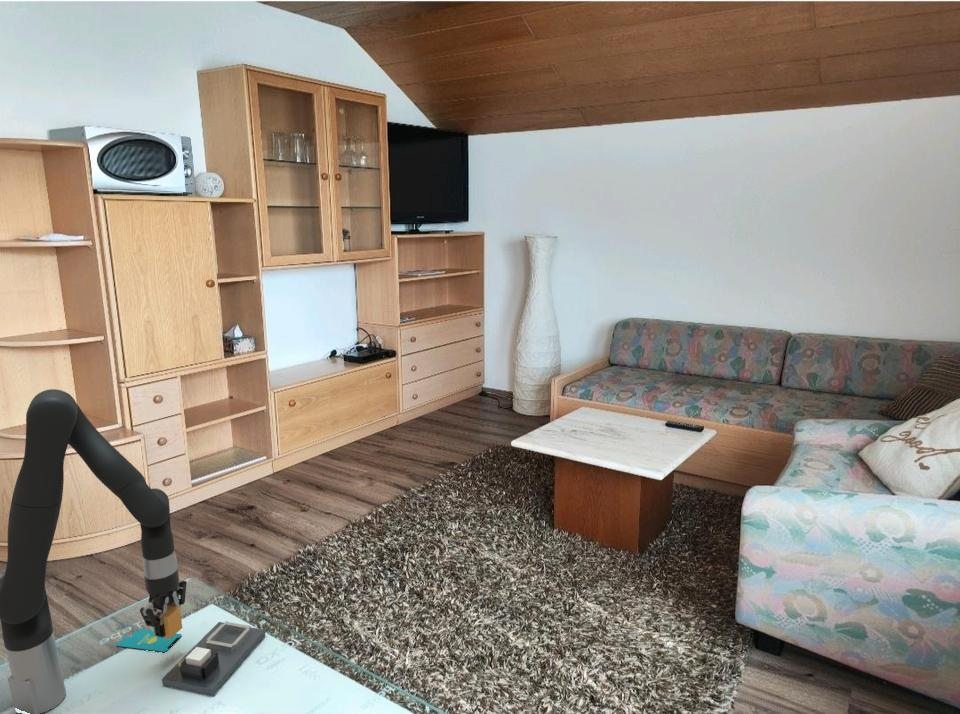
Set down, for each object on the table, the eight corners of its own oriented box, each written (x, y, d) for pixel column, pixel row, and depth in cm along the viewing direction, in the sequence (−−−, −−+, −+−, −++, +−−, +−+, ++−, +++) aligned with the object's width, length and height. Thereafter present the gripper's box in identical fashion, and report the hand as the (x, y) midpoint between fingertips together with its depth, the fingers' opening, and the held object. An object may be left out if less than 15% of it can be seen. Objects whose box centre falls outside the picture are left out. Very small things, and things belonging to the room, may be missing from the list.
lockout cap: (169, 639, 164) (167, 617, 162) (154, 635, 165) (151, 614, 164) (182, 627, 168) (179, 607, 167) (167, 624, 169) (164, 604, 168)
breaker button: (201, 674, 159) (199, 660, 158) (187, 671, 160) (185, 657, 159) (212, 663, 163) (210, 649, 162) (198, 660, 164) (196, 646, 163)
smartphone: (133, 627, 180) (183, 633, 177) (134, 630, 180) (183, 636, 178) (114, 645, 173) (165, 652, 171) (115, 648, 174) (166, 655, 171)
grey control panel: (213, 696, 156) (210, 678, 155) (162, 685, 160) (160, 668, 158) (265, 636, 177) (263, 620, 175) (219, 628, 180) (217, 612, 179)
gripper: (168, 552, 170) (175, 610, 174) (125, 582, 157) (134, 645, 161) (193, 556, 168) (199, 615, 172) (152, 587, 155) (160, 651, 159)
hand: (168, 629), depth 166 cm, fingers closed on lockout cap, 4 cm apart
